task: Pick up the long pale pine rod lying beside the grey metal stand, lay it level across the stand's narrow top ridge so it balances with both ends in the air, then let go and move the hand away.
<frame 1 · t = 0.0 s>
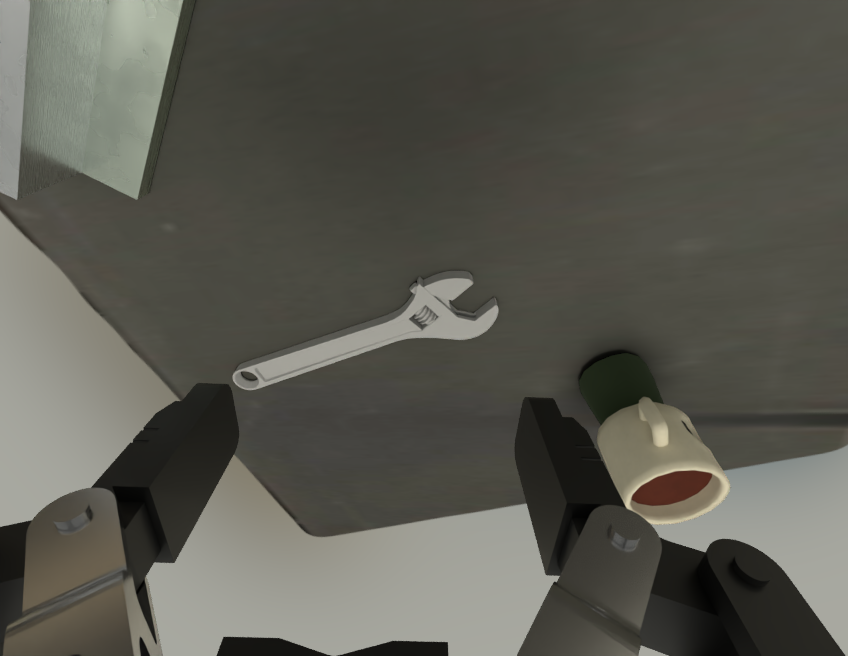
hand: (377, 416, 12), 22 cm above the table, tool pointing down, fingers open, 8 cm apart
adjustable wrench: (356, 326, 38), on the table
trophy cup: (610, 373, 41), on the table
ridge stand: (71, 4, 24), on the table
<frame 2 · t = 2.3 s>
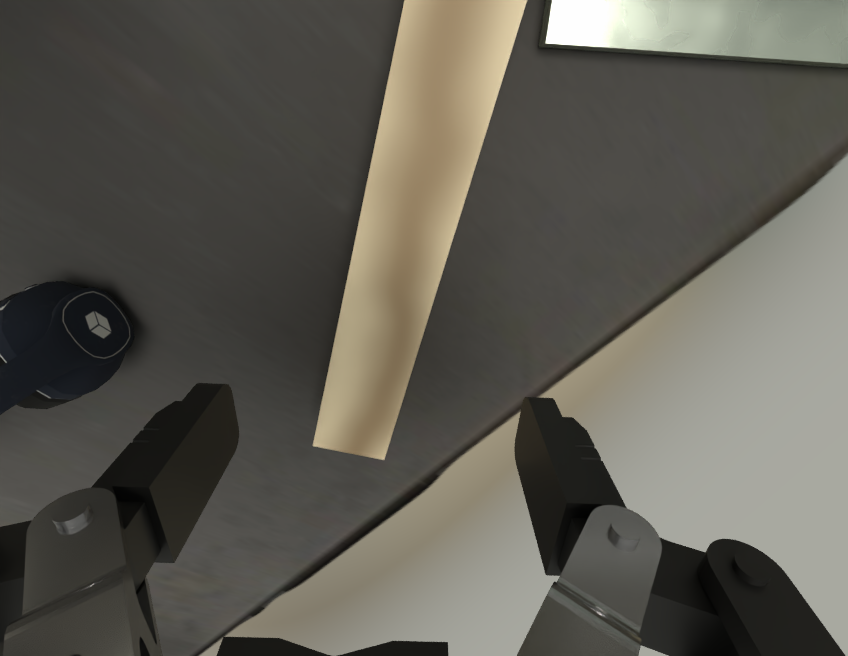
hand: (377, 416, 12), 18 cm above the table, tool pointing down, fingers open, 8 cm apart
pine rod: (400, 241, 28), on the table
headphones: (27, 343, 31), on the table
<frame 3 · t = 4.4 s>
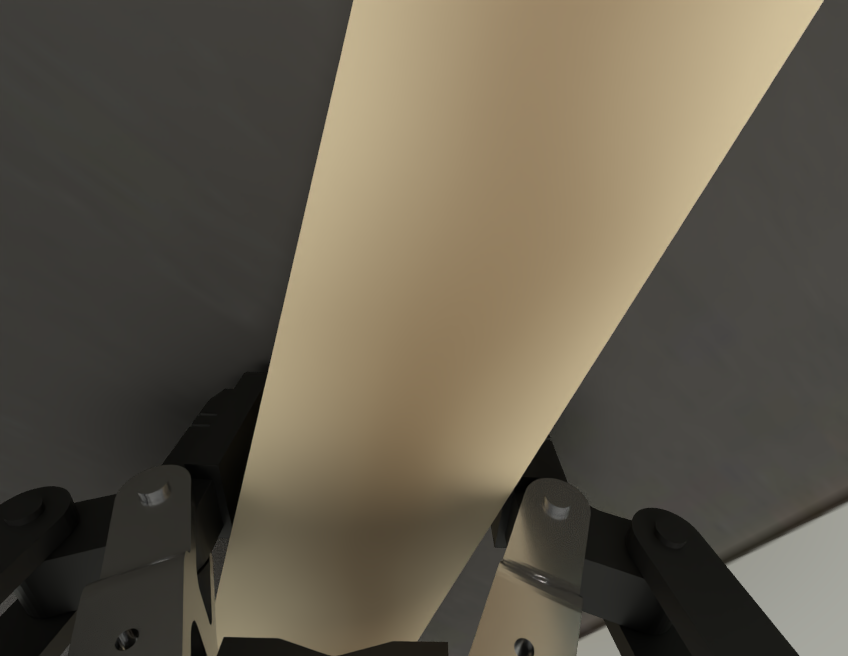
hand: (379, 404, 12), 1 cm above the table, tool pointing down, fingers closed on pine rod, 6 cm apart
pine rod: (383, 380, 13), on the table, touching gripper
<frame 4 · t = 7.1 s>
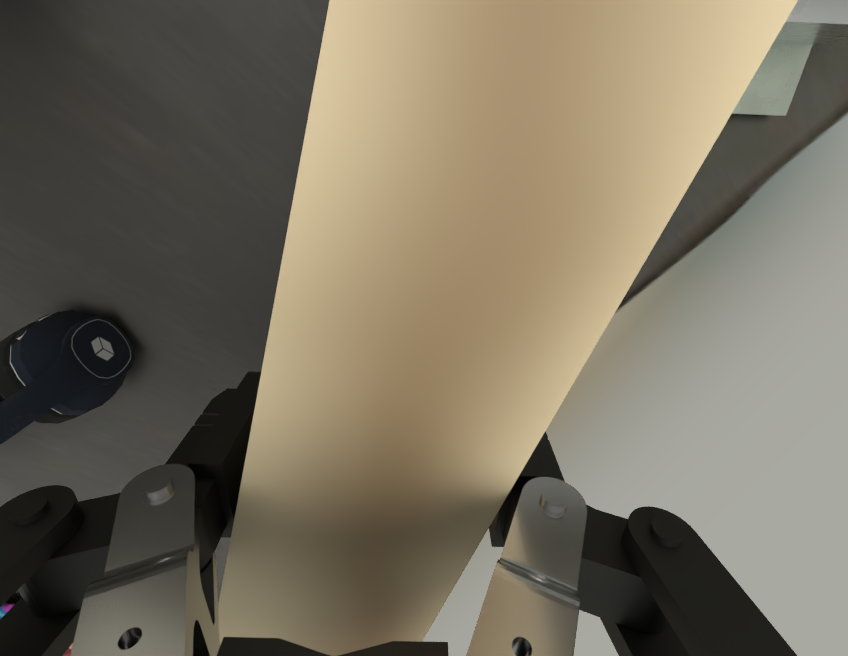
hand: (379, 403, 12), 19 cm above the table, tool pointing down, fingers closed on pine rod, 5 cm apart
pine rod: (384, 377, 13), point 19 cm above the table, touching gripper
headphones: (41, 363, 35), on the table
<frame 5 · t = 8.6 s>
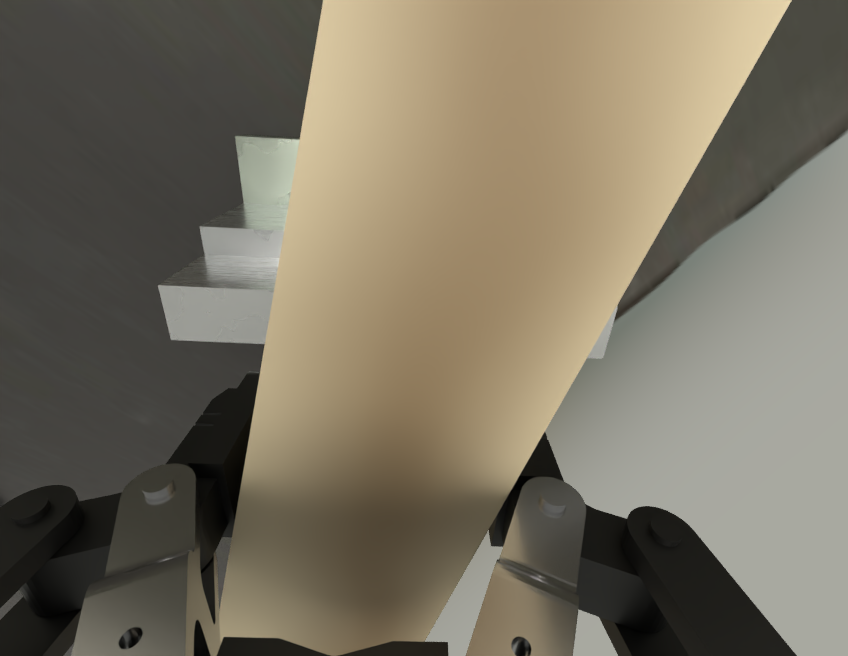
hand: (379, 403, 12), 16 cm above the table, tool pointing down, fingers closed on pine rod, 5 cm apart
pine rod: (385, 377, 13), point 16 cm above the table, touching gripper
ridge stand: (401, 246, 27), on the table
when the fingers open (13 cm above the table, at t = 9.8 s): pine rod stays where it is, resting on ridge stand.
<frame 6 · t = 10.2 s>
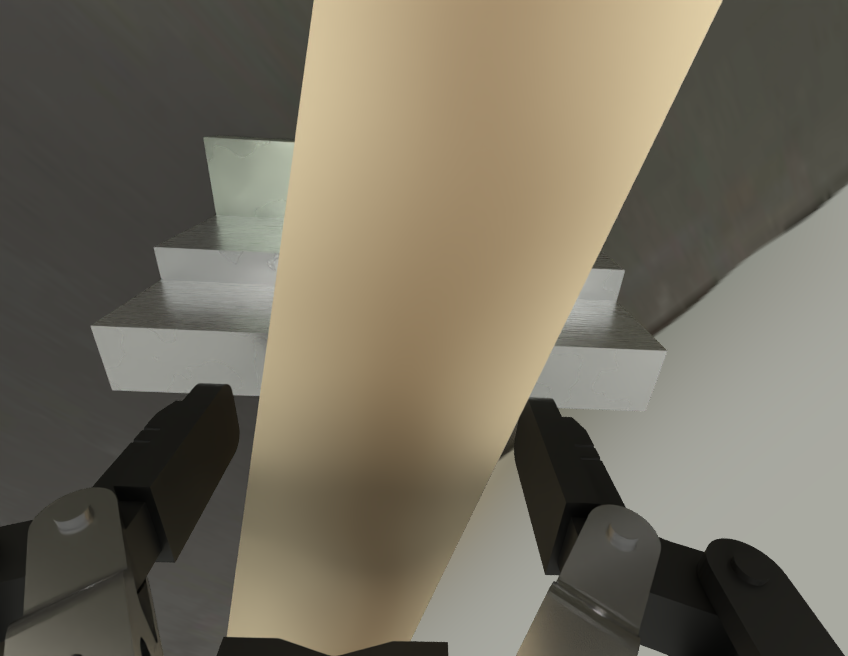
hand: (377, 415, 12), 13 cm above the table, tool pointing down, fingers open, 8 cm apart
pine rod: (385, 363, 14), point 11 cm above the table, touching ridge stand
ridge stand: (399, 263, 24), on the table
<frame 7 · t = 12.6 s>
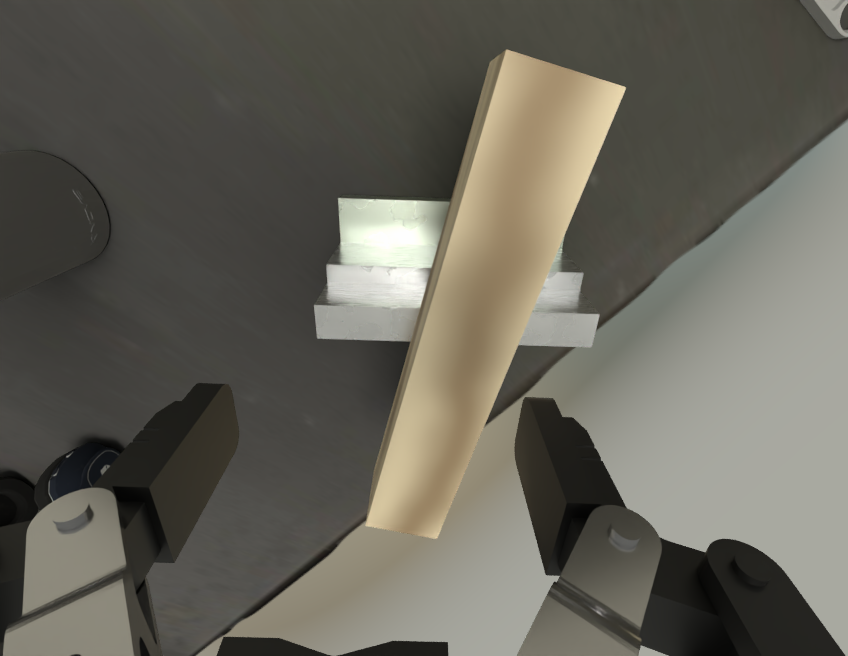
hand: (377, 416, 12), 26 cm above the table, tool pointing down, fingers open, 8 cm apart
pine rod: (456, 322, 27), point 11 cm above the table, touching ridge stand
headphones: (66, 470, 49), on the table
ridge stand: (449, 269, 37), on the table
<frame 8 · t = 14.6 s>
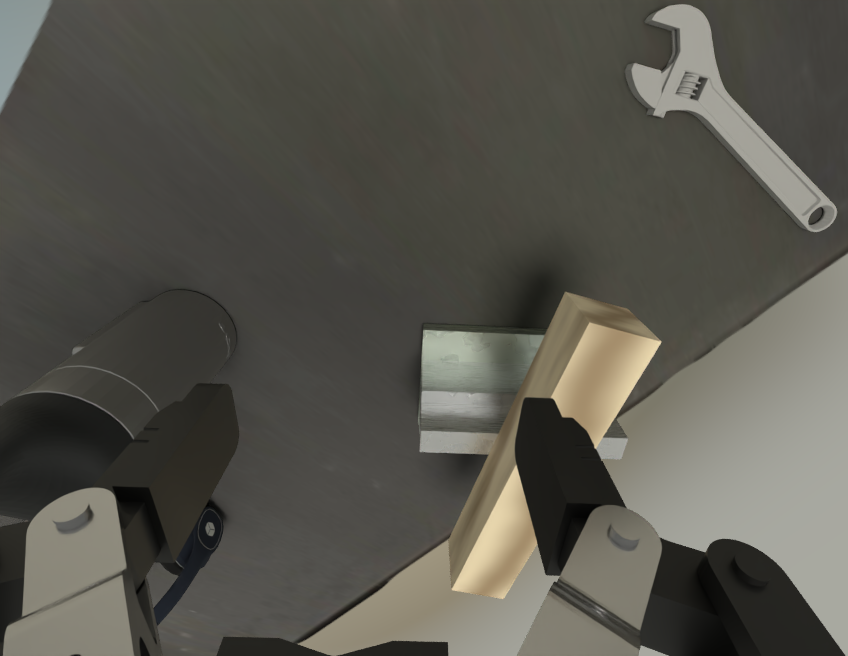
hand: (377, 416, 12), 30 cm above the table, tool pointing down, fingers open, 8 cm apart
pine rod: (524, 442, 37), point 11 cm above the table, touching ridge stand
adjustable wrench: (724, 141, 37), on the table
headphones: (163, 521, 58), on the table
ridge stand: (502, 375, 47), on the table
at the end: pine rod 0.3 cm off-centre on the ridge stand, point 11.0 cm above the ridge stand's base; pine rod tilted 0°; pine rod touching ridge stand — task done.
